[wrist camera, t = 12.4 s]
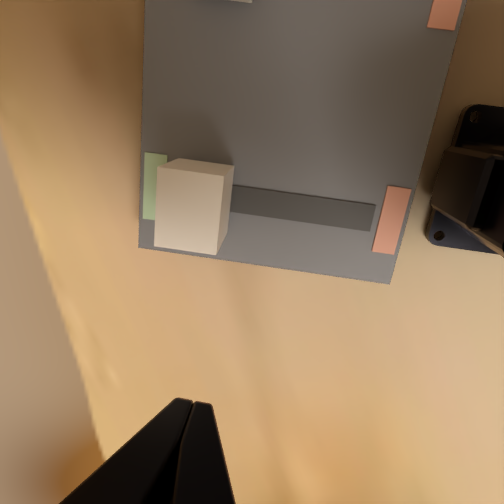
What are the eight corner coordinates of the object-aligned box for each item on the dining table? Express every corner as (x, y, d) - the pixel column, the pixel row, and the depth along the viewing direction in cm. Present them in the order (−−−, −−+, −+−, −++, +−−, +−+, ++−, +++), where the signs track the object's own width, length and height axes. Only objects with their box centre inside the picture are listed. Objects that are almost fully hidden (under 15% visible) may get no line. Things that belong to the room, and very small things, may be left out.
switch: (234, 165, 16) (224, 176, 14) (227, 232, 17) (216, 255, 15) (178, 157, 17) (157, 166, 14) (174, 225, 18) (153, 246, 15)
